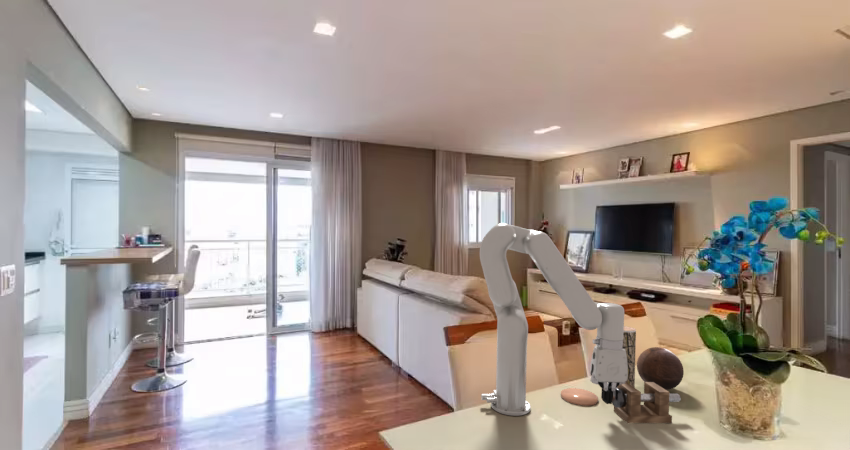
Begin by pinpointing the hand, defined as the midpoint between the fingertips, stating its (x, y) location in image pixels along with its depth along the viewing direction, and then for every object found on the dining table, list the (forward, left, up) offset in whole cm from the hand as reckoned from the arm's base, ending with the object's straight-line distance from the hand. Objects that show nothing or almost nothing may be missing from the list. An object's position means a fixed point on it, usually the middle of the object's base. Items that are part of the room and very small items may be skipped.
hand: (606, 402), depth 128 cm
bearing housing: (+11, 0, -5) cm, 12 cm away
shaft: (+13, 0, -1) cm, 13 cm away
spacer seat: (-3, +14, -5) cm, 15 cm away
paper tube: (+11, +11, -5) cm, 17 cm away
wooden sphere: (+31, +22, -5) cm, 39 cm away
